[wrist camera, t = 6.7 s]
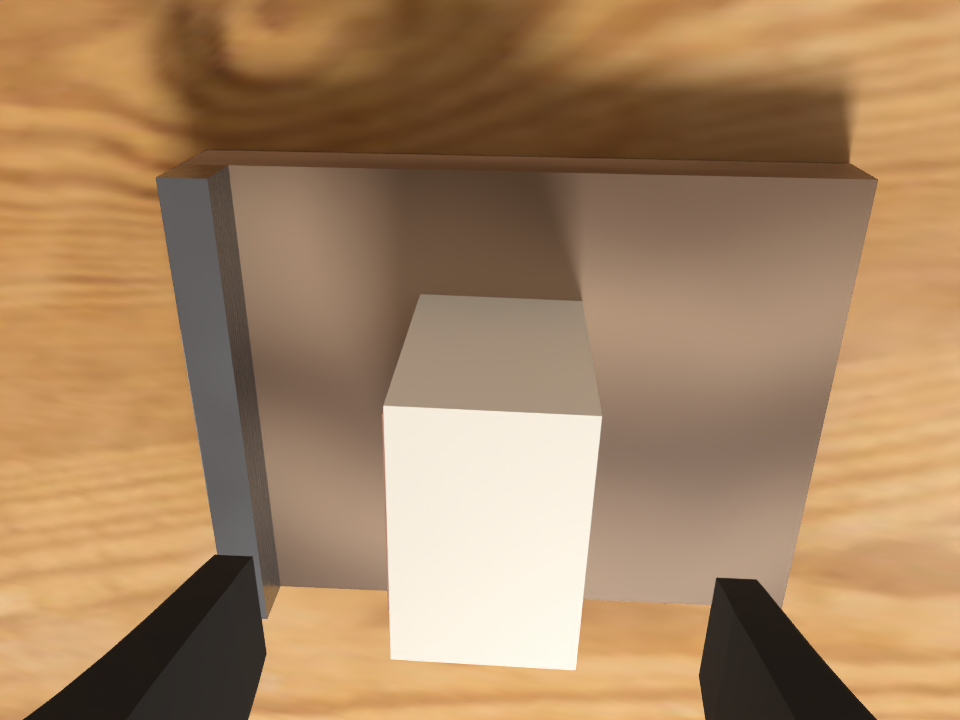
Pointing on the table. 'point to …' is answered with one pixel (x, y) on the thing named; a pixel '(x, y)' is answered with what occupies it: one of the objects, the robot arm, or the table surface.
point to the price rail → (220, 363)
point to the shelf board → (611, 329)
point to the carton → (490, 481)
